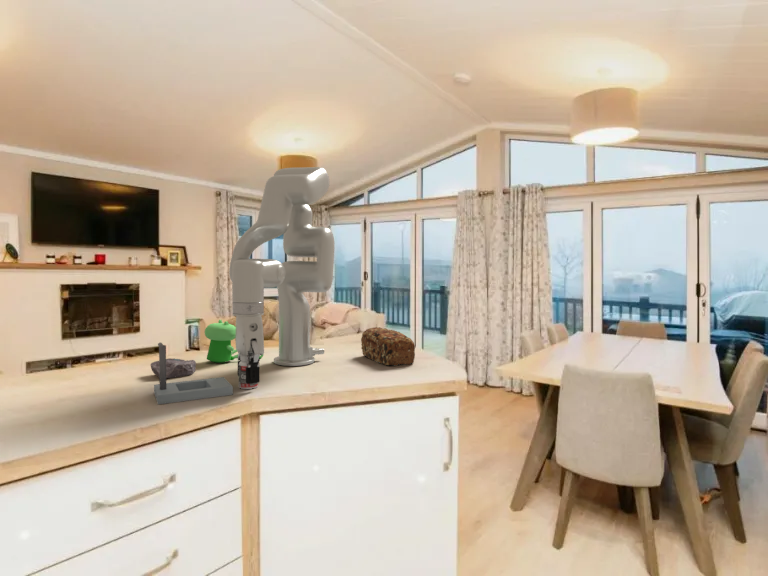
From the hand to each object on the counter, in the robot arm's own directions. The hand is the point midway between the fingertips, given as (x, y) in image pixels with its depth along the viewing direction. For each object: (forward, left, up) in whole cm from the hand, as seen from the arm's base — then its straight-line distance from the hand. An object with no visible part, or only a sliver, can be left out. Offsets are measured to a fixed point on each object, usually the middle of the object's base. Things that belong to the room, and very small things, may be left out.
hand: (248, 378), depth 118 cm
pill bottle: (0, 0, -2) cm, 2 cm away
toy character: (-4, -34, -2) cm, 34 cm away
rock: (+15, -22, -3) cm, 26 cm away
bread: (-48, -12, -3) cm, 49 cm away
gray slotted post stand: (+13, 0, -2) cm, 13 cm away
